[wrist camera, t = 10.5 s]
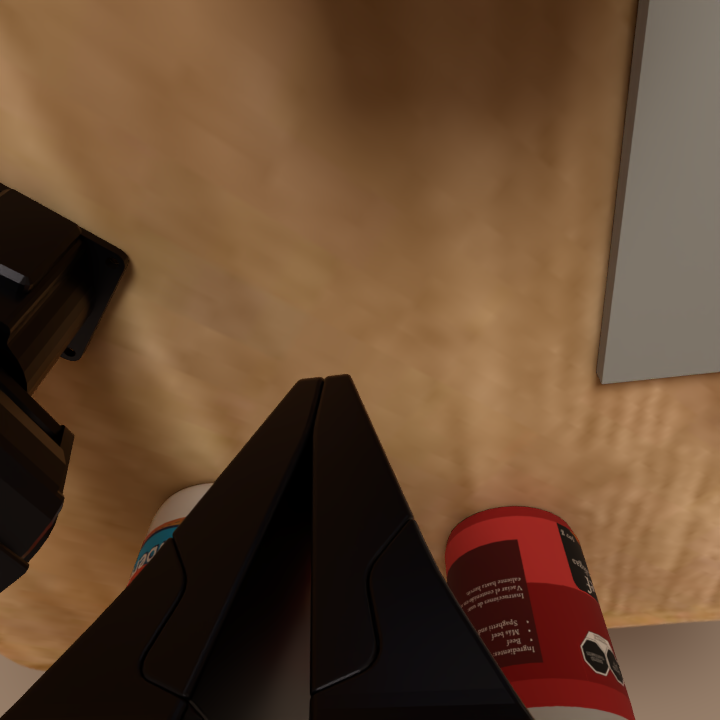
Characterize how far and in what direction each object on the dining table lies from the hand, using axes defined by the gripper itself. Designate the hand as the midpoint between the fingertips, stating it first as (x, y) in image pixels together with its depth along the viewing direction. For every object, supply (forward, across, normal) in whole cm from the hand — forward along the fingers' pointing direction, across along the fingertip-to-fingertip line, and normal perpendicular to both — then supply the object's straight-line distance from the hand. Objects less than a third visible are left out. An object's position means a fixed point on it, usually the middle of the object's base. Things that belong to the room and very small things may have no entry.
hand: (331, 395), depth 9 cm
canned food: (+13, -5, +25) cm, 28 cm away
